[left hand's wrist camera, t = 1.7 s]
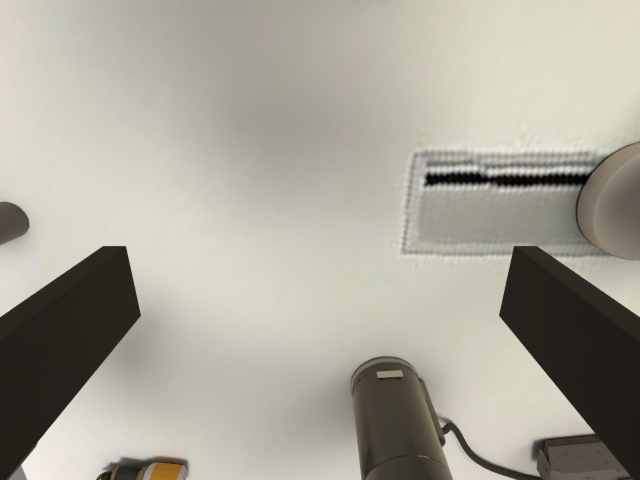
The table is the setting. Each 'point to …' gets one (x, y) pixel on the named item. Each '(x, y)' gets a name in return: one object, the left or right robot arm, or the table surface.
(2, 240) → the bottle
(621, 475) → the toy
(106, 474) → the spray gun
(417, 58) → the table surface
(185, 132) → the table surface
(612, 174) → the bust sculpture
